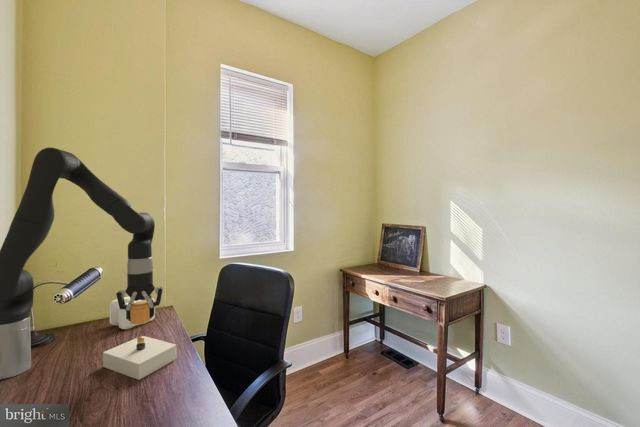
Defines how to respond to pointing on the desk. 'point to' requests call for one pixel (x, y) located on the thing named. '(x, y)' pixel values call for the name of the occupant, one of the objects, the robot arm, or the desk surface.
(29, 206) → the robot arm
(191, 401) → the desk surface
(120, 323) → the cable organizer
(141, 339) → the pigtail
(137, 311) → the orange lidded jar
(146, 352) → the box
